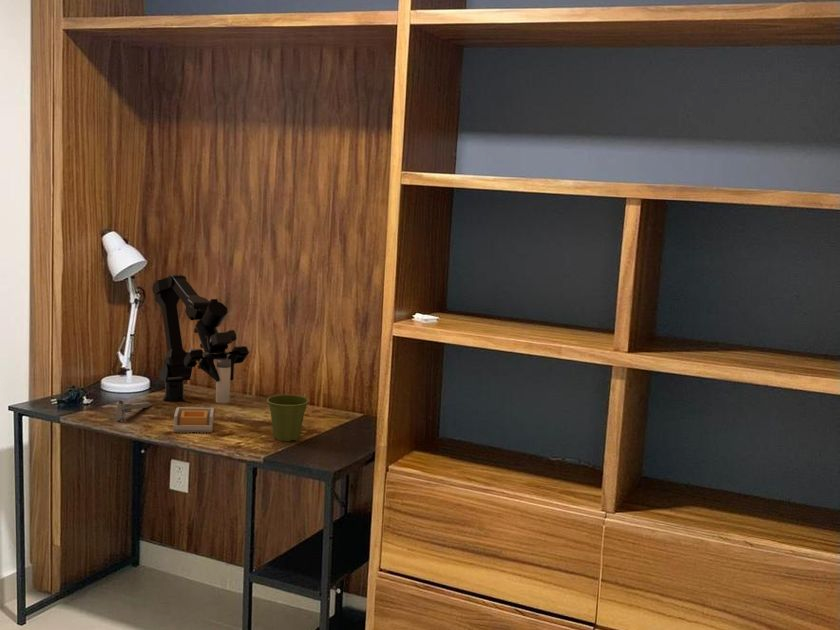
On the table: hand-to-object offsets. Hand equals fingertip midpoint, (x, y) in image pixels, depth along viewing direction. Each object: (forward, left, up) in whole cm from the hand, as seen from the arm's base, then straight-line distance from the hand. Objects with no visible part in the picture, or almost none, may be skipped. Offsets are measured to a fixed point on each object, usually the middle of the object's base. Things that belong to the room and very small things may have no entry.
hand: (225, 380), depth 248 cm
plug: (-1, -1, -7) cm, 7 cm away
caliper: (-13, -26, -14) cm, 33 cm away
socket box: (+2, -8, -13) cm, 16 cm away
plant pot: (+12, +18, -14) cm, 26 cm away
